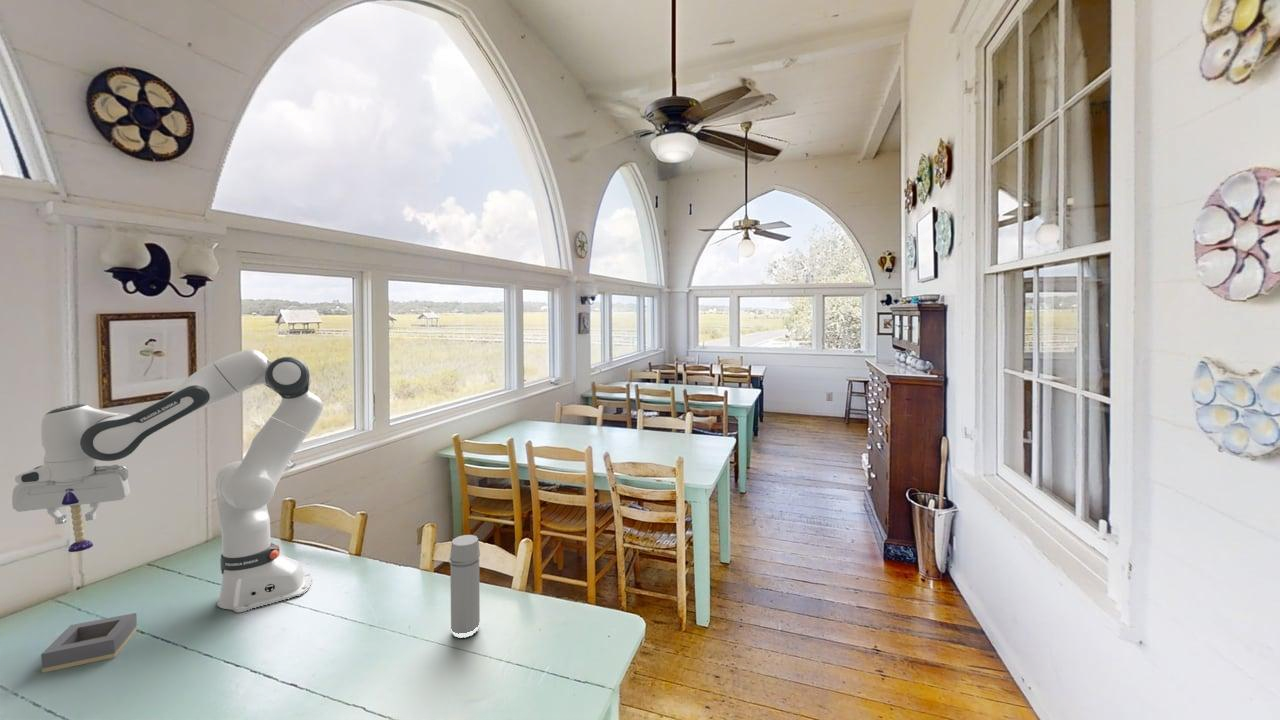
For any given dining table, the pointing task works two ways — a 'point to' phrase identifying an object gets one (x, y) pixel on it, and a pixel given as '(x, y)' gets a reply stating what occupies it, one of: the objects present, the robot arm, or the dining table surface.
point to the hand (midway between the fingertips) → (76, 521)
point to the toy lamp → (76, 523)
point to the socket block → (89, 642)
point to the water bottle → (464, 583)
